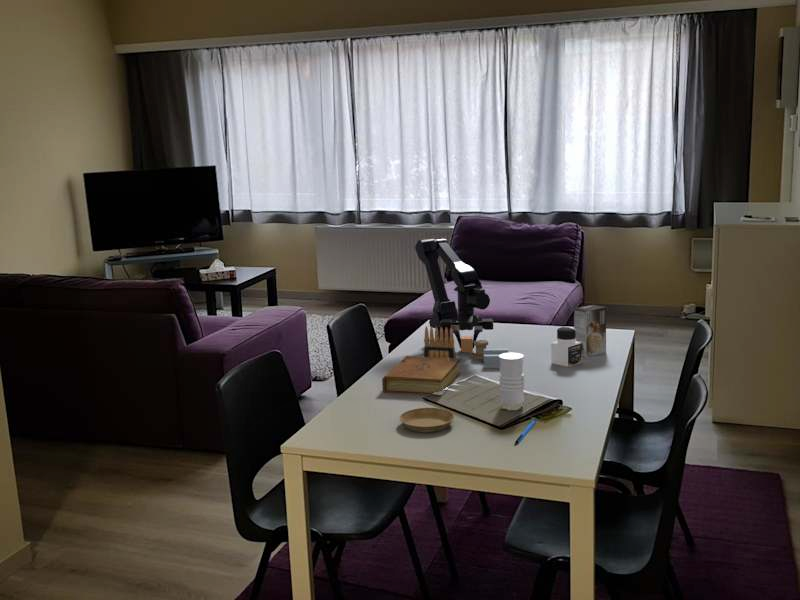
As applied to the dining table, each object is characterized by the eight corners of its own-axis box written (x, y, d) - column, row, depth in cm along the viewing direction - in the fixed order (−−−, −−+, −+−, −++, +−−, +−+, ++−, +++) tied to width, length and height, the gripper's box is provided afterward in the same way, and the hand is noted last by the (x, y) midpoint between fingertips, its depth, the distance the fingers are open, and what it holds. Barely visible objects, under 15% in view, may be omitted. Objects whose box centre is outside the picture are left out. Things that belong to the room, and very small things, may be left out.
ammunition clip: (455, 361, 289) (454, 326, 286) (454, 362, 287) (453, 328, 285) (425, 359, 292) (424, 325, 290) (424, 361, 291) (422, 326, 288)
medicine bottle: (568, 367, 276) (568, 331, 274) (551, 363, 281) (550, 328, 279) (581, 362, 281) (582, 327, 278) (564, 359, 286) (564, 324, 283)
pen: (513, 446, 212) (513, 442, 212) (534, 421, 229) (534, 417, 229) (516, 447, 212) (516, 442, 212) (537, 421, 229) (537, 417, 229)
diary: (405, 372, 280) (404, 355, 279) (460, 375, 274) (460, 358, 273) (382, 393, 259) (382, 375, 257) (442, 397, 253) (441, 378, 252)
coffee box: (593, 349, 297) (593, 304, 293) (606, 352, 291) (607, 307, 288) (573, 353, 292) (573, 307, 289) (586, 357, 287) (586, 310, 283)
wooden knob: (472, 355, 295) (472, 340, 294) (490, 355, 294) (489, 339, 293) (472, 360, 289) (471, 344, 288) (490, 359, 288) (489, 344, 287)
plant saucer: (466, 424, 229) (465, 415, 228) (428, 440, 219) (427, 430, 218) (426, 412, 239) (426, 404, 239) (388, 427, 229) (388, 418, 229)
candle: (521, 412, 236) (521, 359, 233) (497, 410, 238) (496, 358, 235) (526, 404, 242) (526, 353, 239) (502, 402, 244) (502, 352, 241)
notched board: (484, 360, 288) (483, 349, 287) (508, 360, 287) (507, 348, 287) (484, 367, 279) (483, 356, 279) (508, 367, 279) (508, 355, 278)
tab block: (461, 349, 303) (461, 336, 302) (472, 349, 303) (472, 335, 302) (461, 352, 299) (460, 338, 298) (472, 352, 299) (472, 338, 298)
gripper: (438, 310, 291) (439, 354, 294) (493, 309, 289) (493, 353, 292) (439, 303, 302) (441, 346, 305) (492, 302, 300) (493, 345, 303)
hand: (467, 348), depth 301 cm, fingers closed on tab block, 4 cm apart
